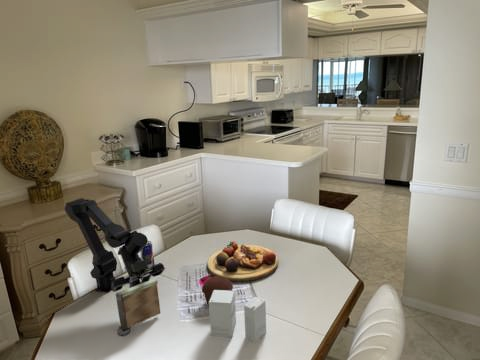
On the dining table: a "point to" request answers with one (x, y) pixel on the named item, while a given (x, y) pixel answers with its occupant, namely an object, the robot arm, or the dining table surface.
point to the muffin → (216, 286)
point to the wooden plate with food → (242, 262)
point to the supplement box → (222, 313)
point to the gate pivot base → (123, 331)
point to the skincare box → (255, 318)
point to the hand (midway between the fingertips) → (147, 298)
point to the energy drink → (148, 253)
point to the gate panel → (138, 303)
